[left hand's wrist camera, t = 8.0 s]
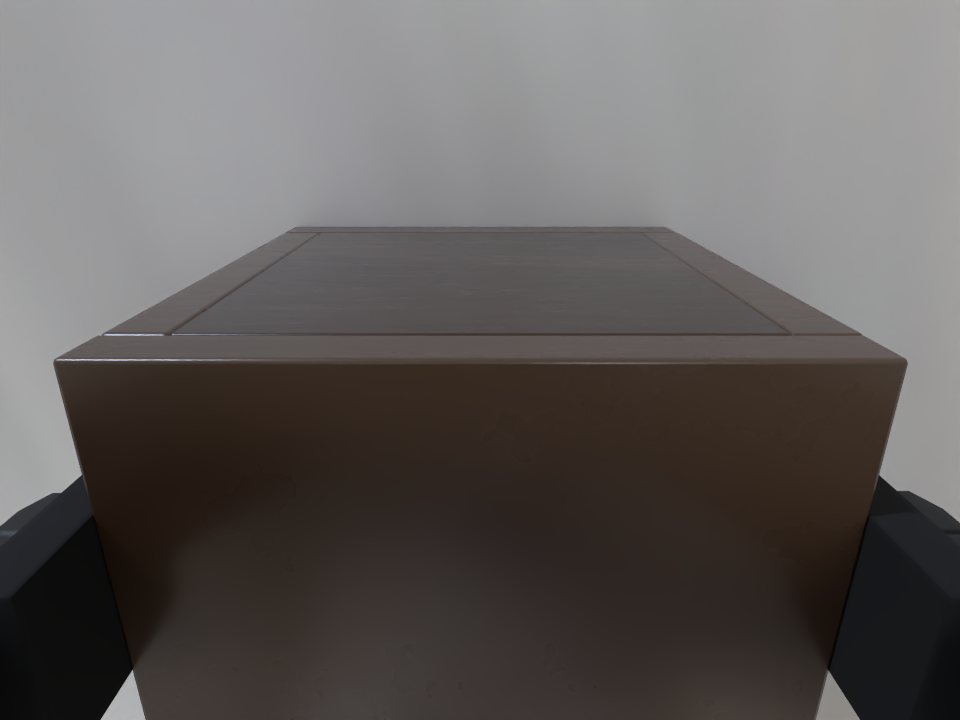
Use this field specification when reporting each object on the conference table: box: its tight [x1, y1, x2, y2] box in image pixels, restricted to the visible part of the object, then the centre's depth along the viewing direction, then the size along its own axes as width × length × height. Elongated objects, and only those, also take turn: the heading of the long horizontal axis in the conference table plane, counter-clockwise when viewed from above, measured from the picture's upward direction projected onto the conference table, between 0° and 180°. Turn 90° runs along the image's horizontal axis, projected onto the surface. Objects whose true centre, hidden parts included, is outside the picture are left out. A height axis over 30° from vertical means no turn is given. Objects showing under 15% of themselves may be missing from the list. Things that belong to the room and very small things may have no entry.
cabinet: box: [54, 227, 907, 720], centre depth 16 cm, size 19×10×10 cm, turn 0°
